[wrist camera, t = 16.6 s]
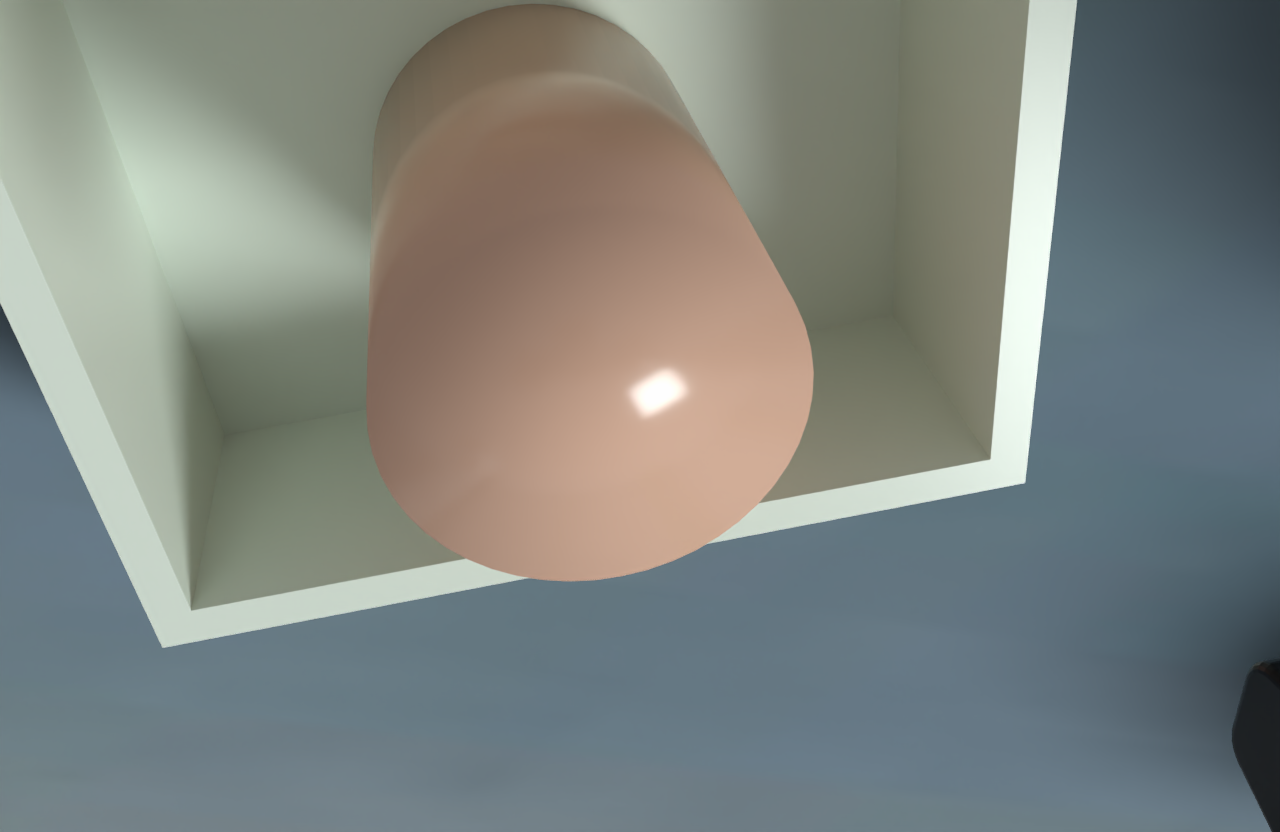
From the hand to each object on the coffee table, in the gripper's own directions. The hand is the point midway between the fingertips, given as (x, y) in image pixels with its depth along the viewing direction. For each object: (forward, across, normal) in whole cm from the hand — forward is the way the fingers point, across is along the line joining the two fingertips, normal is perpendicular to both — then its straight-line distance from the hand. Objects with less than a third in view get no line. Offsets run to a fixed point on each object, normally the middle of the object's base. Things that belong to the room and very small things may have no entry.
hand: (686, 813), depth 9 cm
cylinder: (+12, 0, 0) cm, 12 cm away
